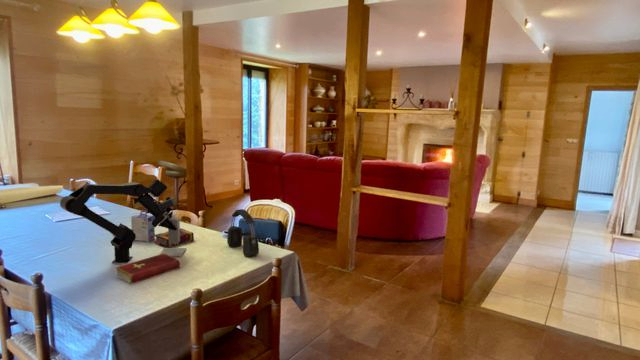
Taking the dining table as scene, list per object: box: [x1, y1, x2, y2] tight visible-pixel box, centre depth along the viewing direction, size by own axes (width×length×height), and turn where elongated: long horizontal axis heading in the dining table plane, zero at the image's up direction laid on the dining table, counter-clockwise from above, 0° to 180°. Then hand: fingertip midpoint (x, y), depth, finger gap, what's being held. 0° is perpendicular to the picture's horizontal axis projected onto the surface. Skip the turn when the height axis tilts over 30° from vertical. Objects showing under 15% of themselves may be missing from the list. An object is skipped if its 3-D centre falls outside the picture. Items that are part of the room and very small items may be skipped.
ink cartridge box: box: [130, 210, 156, 242], centre depth 196 cm, size 10×6×14 cm, turn 78°
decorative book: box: [154, 227, 195, 248], centre depth 194 cm, size 11×16×5 cm
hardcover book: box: [114, 253, 181, 285], centre depth 158 cm, size 12×21×4 cm, turn 143°
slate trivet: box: [158, 247, 187, 258], centre depth 179 cm, size 10×10×1 cm
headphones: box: [226, 208, 260, 258], centre depth 184 cm, size 22×6×20 cm, turn 40°
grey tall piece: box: [167, 213, 181, 245], centre depth 177 cm, size 4×4×13 cm
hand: (177, 228), depth 177 cm, fingers closed on grey tall piece, 4 cm apart
